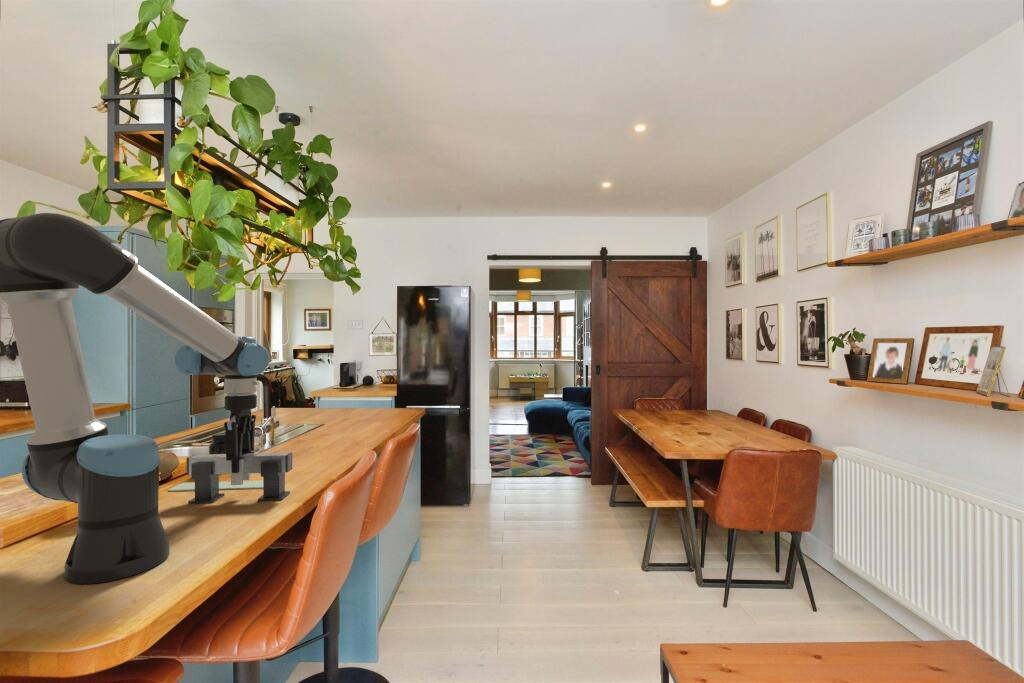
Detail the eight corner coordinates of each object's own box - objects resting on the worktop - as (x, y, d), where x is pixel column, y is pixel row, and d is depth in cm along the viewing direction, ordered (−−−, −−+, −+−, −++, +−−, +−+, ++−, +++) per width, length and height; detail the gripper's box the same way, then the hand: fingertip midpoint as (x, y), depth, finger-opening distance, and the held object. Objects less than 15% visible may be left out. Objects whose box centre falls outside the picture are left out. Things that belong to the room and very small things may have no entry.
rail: (287, 472, 127) (287, 455, 127) (186, 475, 125) (186, 457, 125) (292, 468, 131) (292, 452, 131) (193, 471, 128) (194, 454, 128)
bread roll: (185, 471, 155) (185, 447, 155) (169, 484, 141) (169, 457, 141) (150, 474, 152) (150, 449, 152) (129, 488, 137) (129, 460, 137)
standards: (281, 500, 126) (281, 461, 126) (188, 503, 123) (188, 464, 123) (290, 493, 132) (290, 456, 132) (201, 496, 130) (201, 458, 130)
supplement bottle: (212, 469, 158) (212, 432, 158) (235, 467, 160) (235, 431, 160) (205, 474, 151) (205, 436, 151) (230, 472, 153) (230, 435, 153)
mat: (272, 488, 137) (272, 486, 137) (167, 491, 134) (167, 490, 134) (282, 481, 144) (282, 479, 144) (182, 484, 141) (182, 482, 141)
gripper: (241, 397, 120) (241, 491, 120) (268, 391, 136) (267, 473, 136) (209, 397, 119) (209, 492, 119) (240, 391, 136) (240, 474, 135)
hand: (240, 482), depth 128 cm, fingers closed on rail, 3 cm apart
